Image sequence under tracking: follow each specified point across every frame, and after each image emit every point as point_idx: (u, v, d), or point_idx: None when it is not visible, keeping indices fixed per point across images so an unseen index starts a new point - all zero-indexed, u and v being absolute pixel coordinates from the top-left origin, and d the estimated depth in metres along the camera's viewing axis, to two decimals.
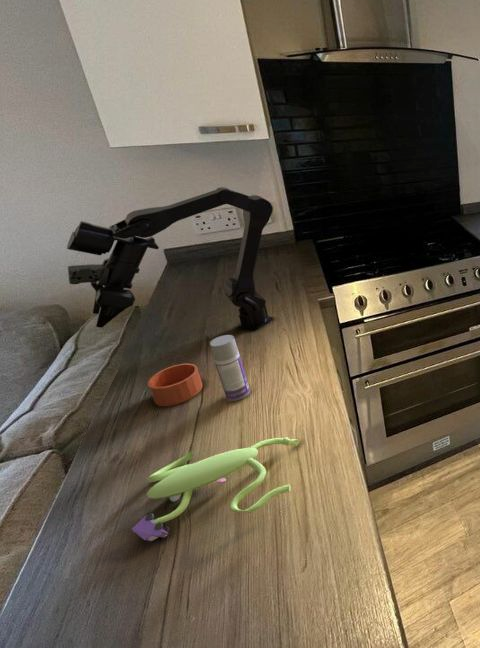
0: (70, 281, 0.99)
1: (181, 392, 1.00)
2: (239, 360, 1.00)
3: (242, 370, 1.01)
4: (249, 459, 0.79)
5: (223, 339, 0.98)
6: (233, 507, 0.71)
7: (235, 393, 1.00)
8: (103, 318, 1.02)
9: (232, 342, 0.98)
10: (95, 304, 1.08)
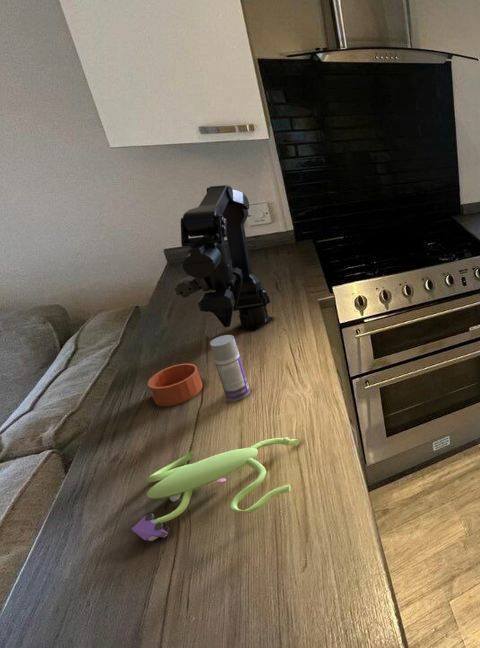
0: (182, 295, 1.03)
1: (181, 392, 1.00)
2: (239, 360, 1.00)
3: (242, 370, 1.01)
4: (249, 459, 0.79)
5: (223, 339, 0.98)
6: (233, 507, 0.71)
7: (235, 393, 1.00)
8: (223, 319, 1.05)
9: (232, 342, 0.98)
10: None
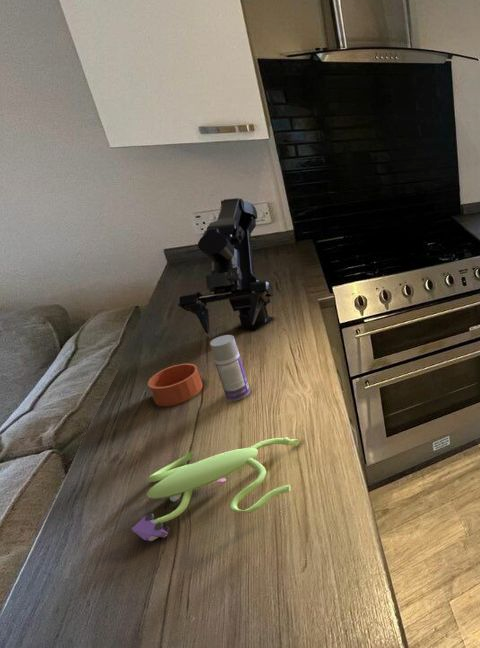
0: (226, 282, 1.02)
1: (181, 392, 1.00)
2: (239, 360, 1.00)
3: (242, 370, 1.01)
4: (249, 459, 0.79)
5: (223, 339, 0.98)
6: (233, 507, 0.71)
7: (235, 393, 1.00)
8: (255, 313, 1.08)
9: (232, 342, 0.98)
10: (206, 323, 1.04)
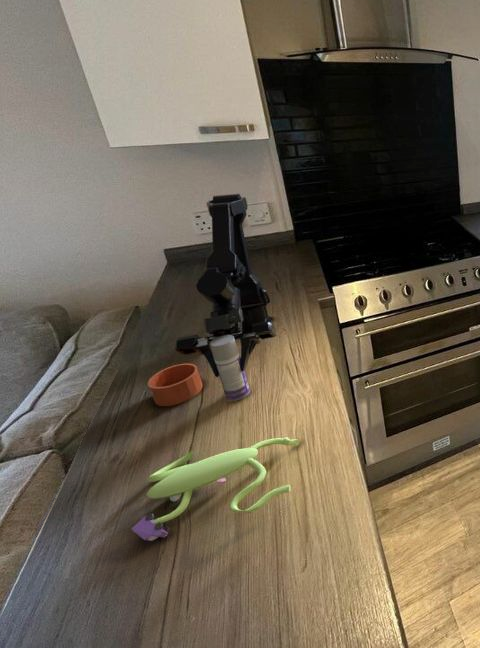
0: (227, 325, 0.97)
1: (181, 392, 1.00)
2: (239, 360, 1.00)
3: None
4: (249, 459, 0.79)
5: (223, 339, 0.98)
6: (233, 507, 0.71)
7: (235, 393, 1.00)
8: (246, 359, 1.01)
9: (232, 342, 0.98)
10: None
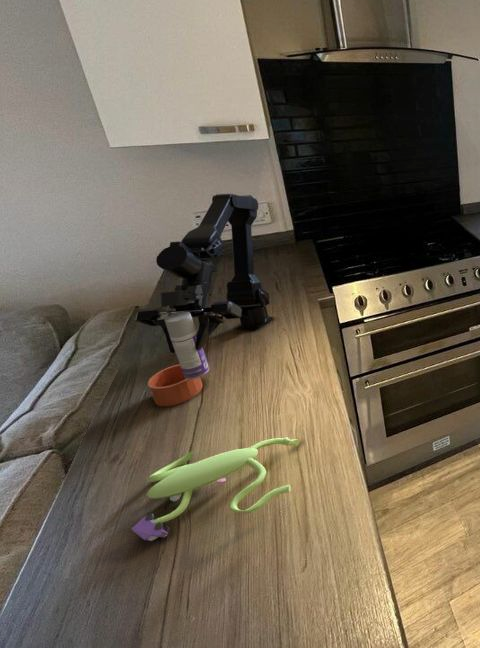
0: (181, 302, 0.94)
1: (181, 392, 1.00)
2: (195, 338, 0.97)
3: None
4: (249, 459, 0.79)
5: (179, 315, 0.95)
6: (233, 507, 0.71)
7: (190, 371, 0.98)
8: (203, 338, 0.98)
9: (187, 320, 0.95)
10: None
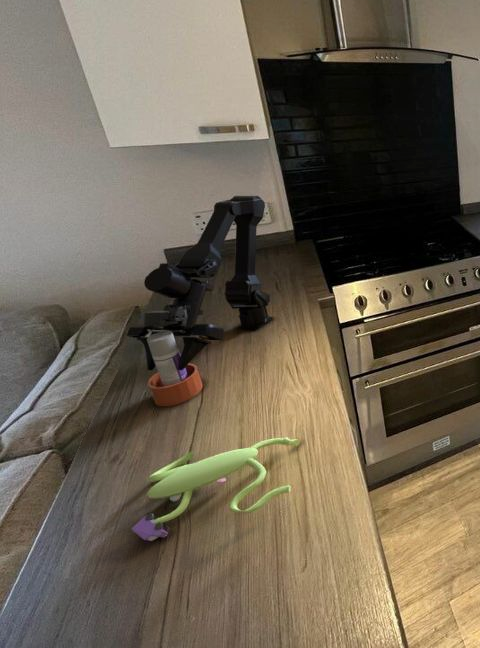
0: (161, 323, 0.96)
1: (181, 392, 1.00)
2: (175, 358, 1.00)
3: None
4: (249, 459, 0.79)
5: (162, 334, 0.98)
6: (233, 507, 0.71)
7: None
8: (187, 358, 1.00)
9: (166, 340, 0.97)
10: (151, 359, 1.00)
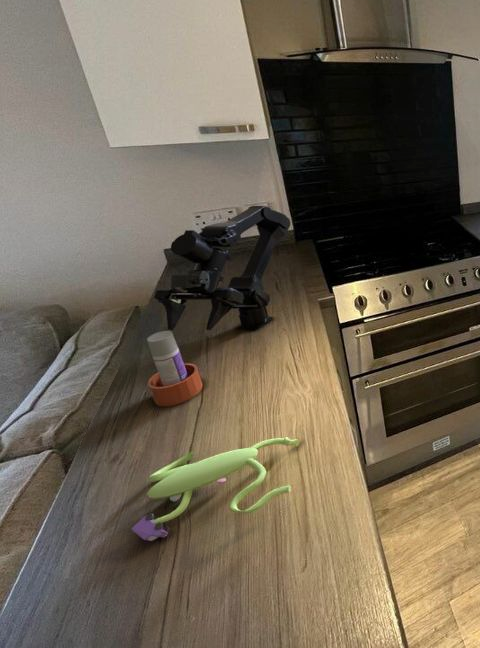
0: (186, 285, 1.03)
1: (181, 392, 1.00)
2: (175, 358, 1.00)
3: (179, 368, 1.01)
4: (249, 459, 0.79)
5: (162, 334, 0.98)
6: (233, 507, 0.71)
7: None
8: (214, 319, 1.08)
9: (166, 340, 0.97)
10: (171, 320, 1.07)
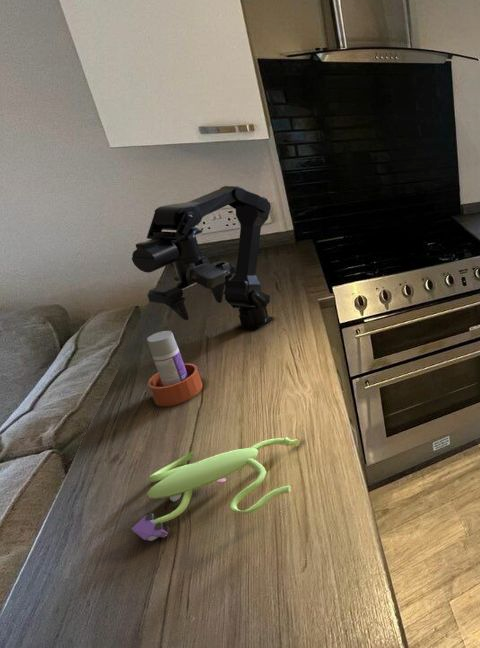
0: (224, 280, 1.10)
1: (181, 392, 1.00)
2: (175, 358, 1.00)
3: (179, 368, 1.01)
4: (249, 459, 0.79)
5: (162, 334, 0.98)
6: (233, 507, 0.71)
7: None
8: None
9: (166, 340, 0.97)
10: None
